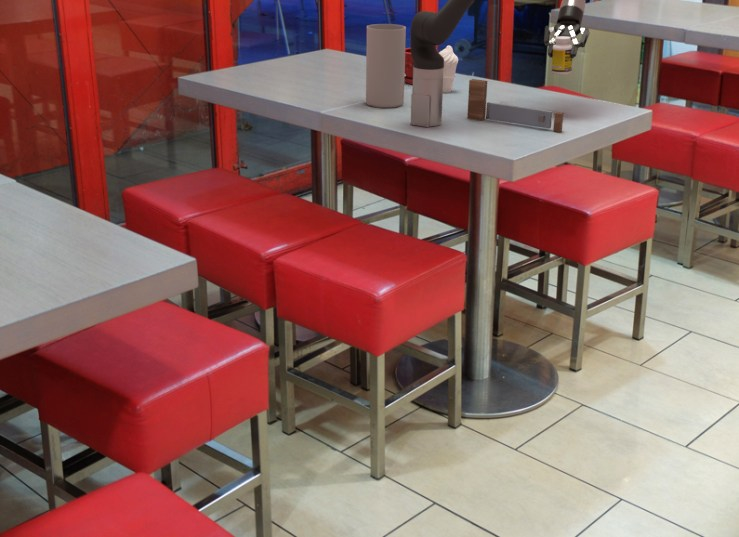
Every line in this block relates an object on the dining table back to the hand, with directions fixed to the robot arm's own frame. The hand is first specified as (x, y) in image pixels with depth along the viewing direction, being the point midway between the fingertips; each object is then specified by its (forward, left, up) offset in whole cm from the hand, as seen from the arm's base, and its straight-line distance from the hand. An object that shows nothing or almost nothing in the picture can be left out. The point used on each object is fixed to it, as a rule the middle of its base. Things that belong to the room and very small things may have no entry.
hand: (561, 56), depth 307 cm
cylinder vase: (-16, +53, -19) cm, 59 cm away
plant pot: (+21, +61, -19) cm, 68 cm away
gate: (-18, +5, -18) cm, 26 cm away
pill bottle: (+2, 0, -6) cm, 6 cm away
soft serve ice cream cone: (+13, +46, -19) cm, 52 cm away
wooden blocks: (-17, +7, -19) cm, 27 cm away
